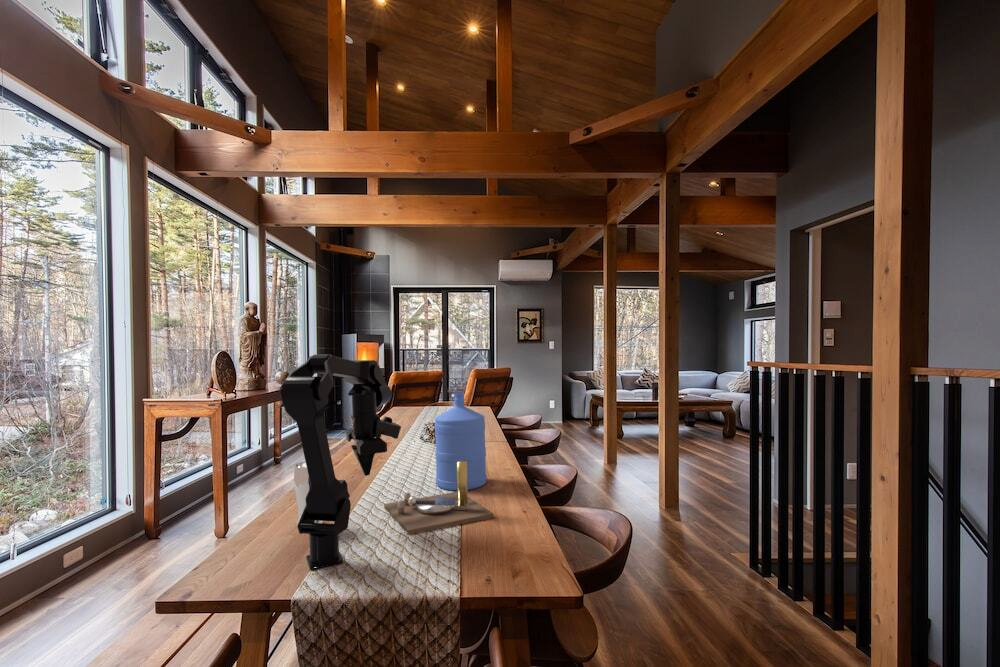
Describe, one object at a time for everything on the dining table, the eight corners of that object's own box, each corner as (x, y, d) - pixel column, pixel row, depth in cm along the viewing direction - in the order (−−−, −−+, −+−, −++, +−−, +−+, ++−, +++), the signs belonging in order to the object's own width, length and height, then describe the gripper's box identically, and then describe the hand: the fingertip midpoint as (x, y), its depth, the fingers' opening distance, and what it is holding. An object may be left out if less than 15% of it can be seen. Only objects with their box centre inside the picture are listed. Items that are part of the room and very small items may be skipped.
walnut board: (493, 517, 130) (493, 501, 130) (408, 534, 120) (407, 517, 120) (459, 494, 150) (459, 480, 150) (384, 507, 140) (383, 492, 140)
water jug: (485, 490, 153) (483, 395, 153) (432, 492, 153) (430, 397, 153) (487, 476, 169) (485, 390, 169) (439, 477, 169) (437, 391, 169)
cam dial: (401, 513, 131) (400, 465, 131) (414, 500, 141) (413, 456, 141) (463, 515, 129) (462, 466, 129) (472, 502, 139) (471, 457, 139)
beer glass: (315, 530, 124) (313, 468, 124) (288, 529, 126) (287, 467, 126) (330, 520, 131) (328, 461, 131) (305, 519, 133) (304, 460, 133)
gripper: (407, 413, 121) (410, 479, 122) (387, 403, 138) (390, 461, 139) (359, 419, 117) (362, 488, 117) (344, 407, 133) (347, 467, 134)
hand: (367, 475), depth 127 cm, fingers closed
